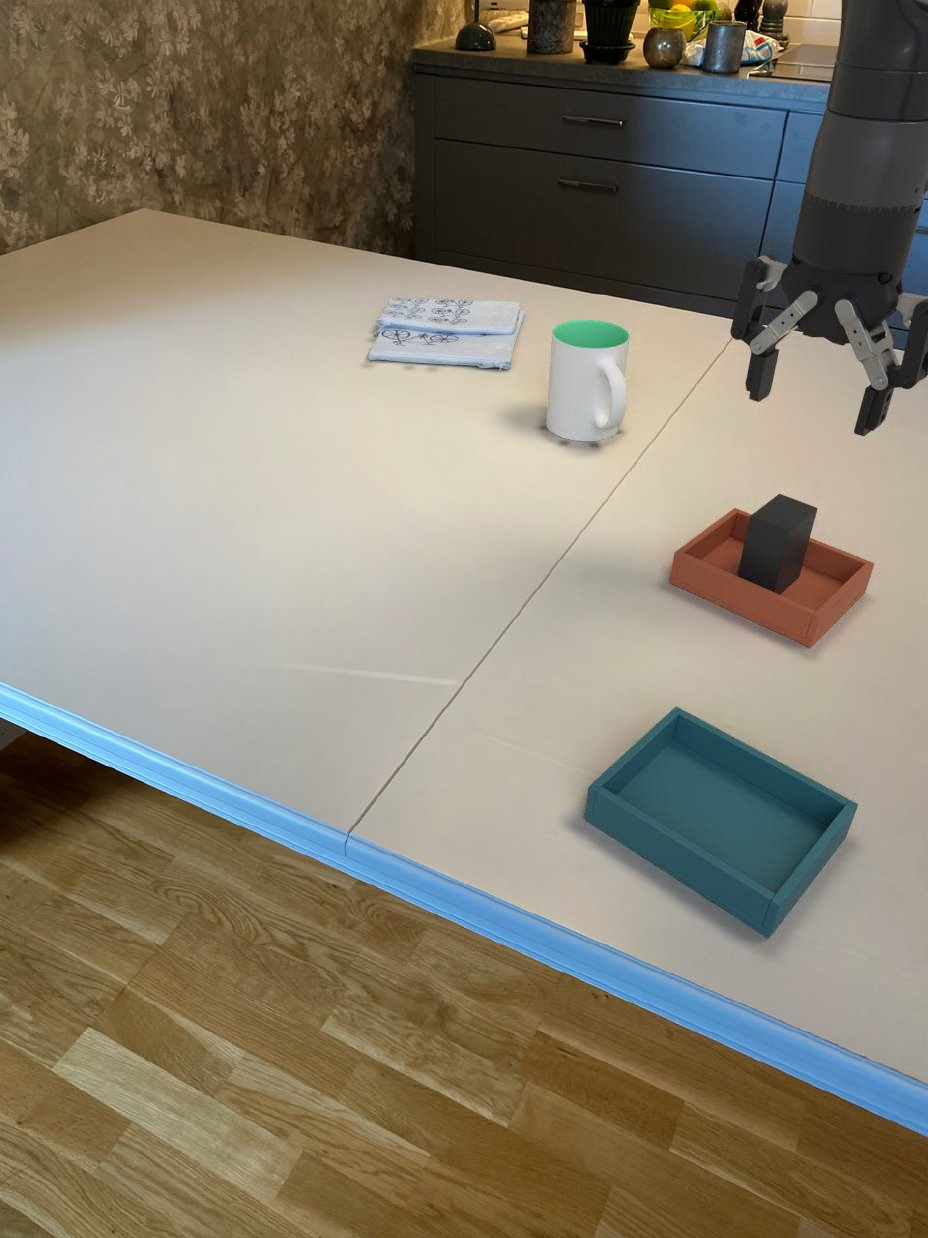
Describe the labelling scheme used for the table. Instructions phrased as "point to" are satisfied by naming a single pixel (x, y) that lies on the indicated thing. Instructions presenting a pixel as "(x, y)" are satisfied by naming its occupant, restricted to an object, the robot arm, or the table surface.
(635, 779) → the teal bin
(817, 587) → the terracotta bin
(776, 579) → the block
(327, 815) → the table surface
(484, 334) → the light blue folded towel
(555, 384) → the mug
